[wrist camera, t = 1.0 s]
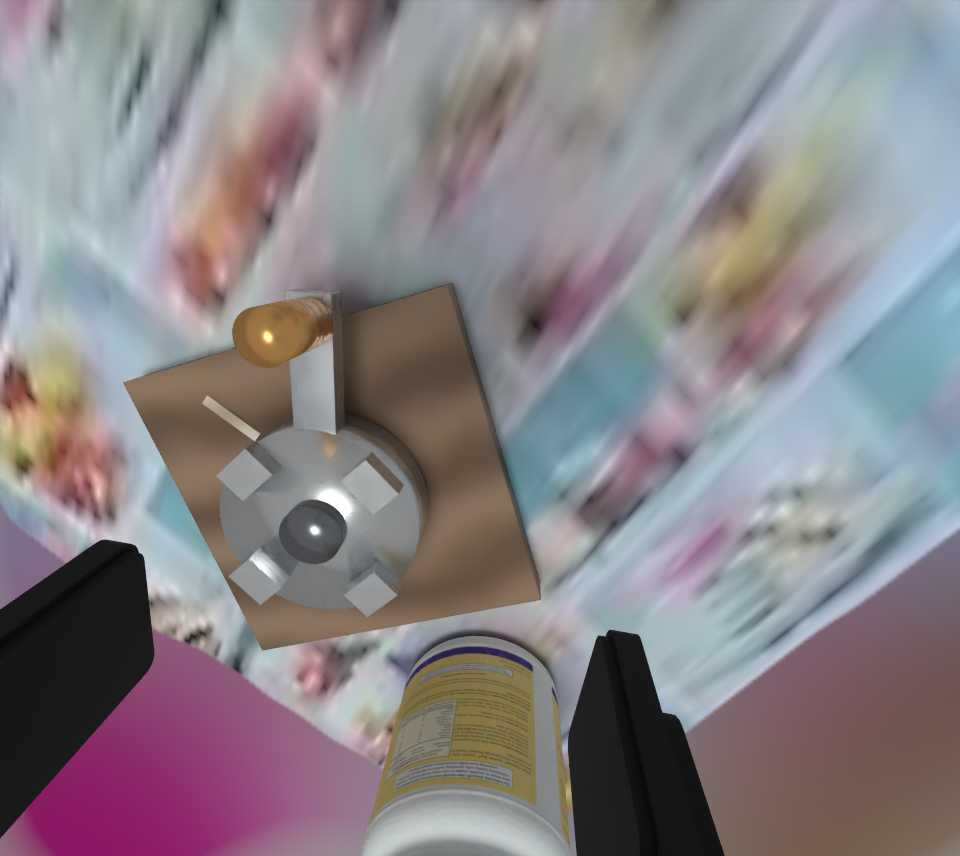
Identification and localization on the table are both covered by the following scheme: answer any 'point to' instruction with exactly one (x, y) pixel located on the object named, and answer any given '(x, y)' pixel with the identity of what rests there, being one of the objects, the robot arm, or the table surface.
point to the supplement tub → (473, 758)
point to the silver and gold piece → (318, 475)
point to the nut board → (399, 410)
